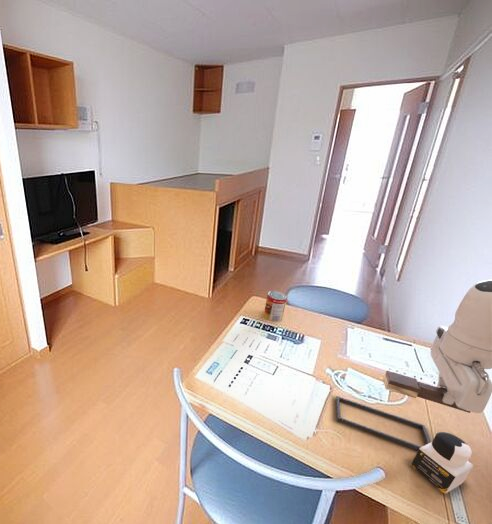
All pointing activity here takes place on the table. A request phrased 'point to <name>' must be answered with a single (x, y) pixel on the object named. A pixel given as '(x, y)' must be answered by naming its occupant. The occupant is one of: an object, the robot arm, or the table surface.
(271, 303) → the canned food
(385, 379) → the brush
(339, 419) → the empty picture frame
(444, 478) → the medicine bottle
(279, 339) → the table surface
